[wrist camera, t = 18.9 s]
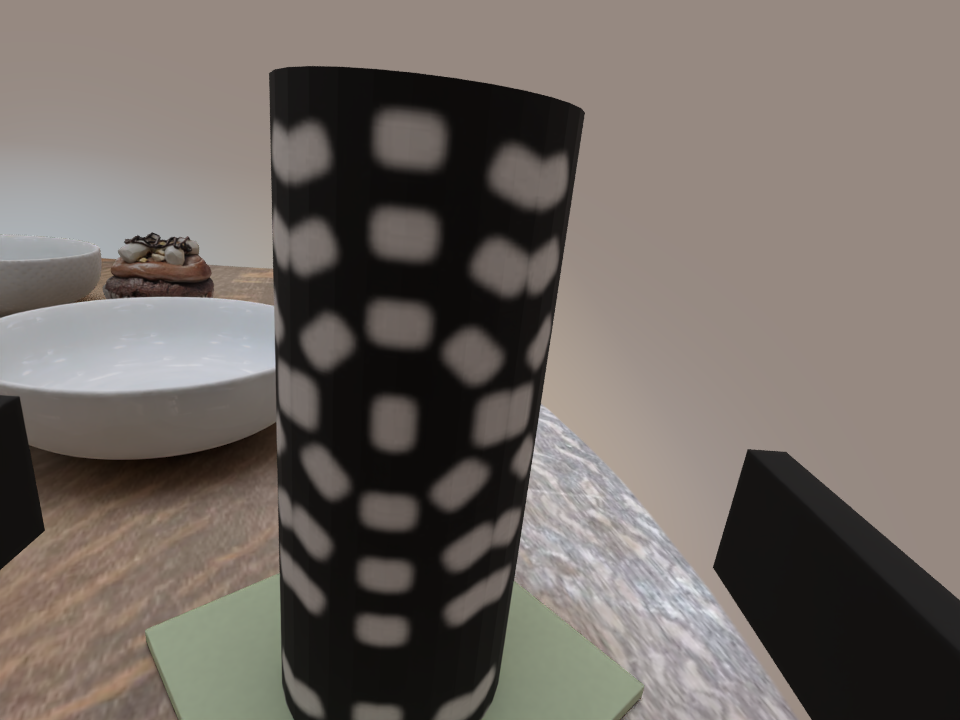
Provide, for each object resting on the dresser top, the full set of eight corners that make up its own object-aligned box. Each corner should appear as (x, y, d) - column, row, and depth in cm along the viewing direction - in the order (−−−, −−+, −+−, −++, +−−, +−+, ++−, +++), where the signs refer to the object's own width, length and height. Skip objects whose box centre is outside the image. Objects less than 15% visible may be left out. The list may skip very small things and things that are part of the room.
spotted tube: (503, 776, 18) (617, 96, 11) (243, 755, 17) (205, 49, 11) (497, 589, 25) (561, 127, 19) (318, 574, 25) (322, 100, 19)
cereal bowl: (99, 331, 54) (90, 260, 52) (-138, 340, 46) (-161, 256, 44) (113, 292, 68) (106, 234, 66) (-68, 293, 60) (-82, 228, 58)
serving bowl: (362, 390, 47) (365, 313, 45) (228, 540, 28) (221, 416, 25) (138, 357, 49) (131, 281, 47) (-138, 476, 29) (-174, 355, 27)
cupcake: (219, 320, 62) (214, 230, 59) (213, 347, 53) (207, 244, 50) (120, 320, 58) (109, 224, 55) (96, 349, 50) (82, 238, 47)
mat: (426, 519, 31) (427, 510, 31) (642, 696, 22) (645, 685, 21) (146, 641, 22) (144, 629, 21) (311, 1047, 12) (311, 1032, 12)
